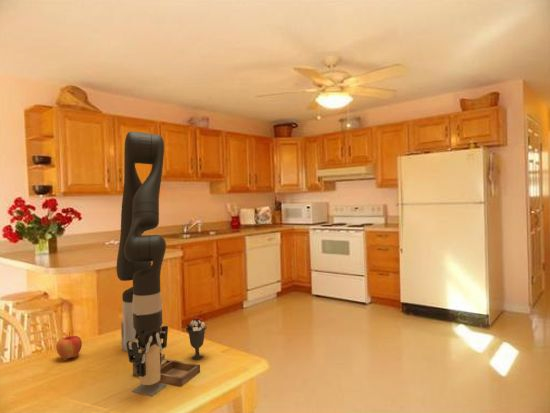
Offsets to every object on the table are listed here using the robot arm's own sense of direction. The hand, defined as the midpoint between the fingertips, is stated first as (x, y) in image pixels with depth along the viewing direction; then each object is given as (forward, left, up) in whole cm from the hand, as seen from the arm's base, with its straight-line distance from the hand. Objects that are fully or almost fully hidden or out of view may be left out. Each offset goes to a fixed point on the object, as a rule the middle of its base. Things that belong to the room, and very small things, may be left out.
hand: (149, 370), depth 103 cm
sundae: (+1, +21, -6) cm, 22 cm away
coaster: (0, 0, -5) cm, 5 cm away
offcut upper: (-6, +9, -3) cm, 11 cm away
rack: (-1, +8, -5) cm, 10 cm away
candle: (0, 0, -3) cm, 3 cm away
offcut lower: (-6, +8, -5) cm, 11 cm away
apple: (-39, +7, -6) cm, 40 cm away
